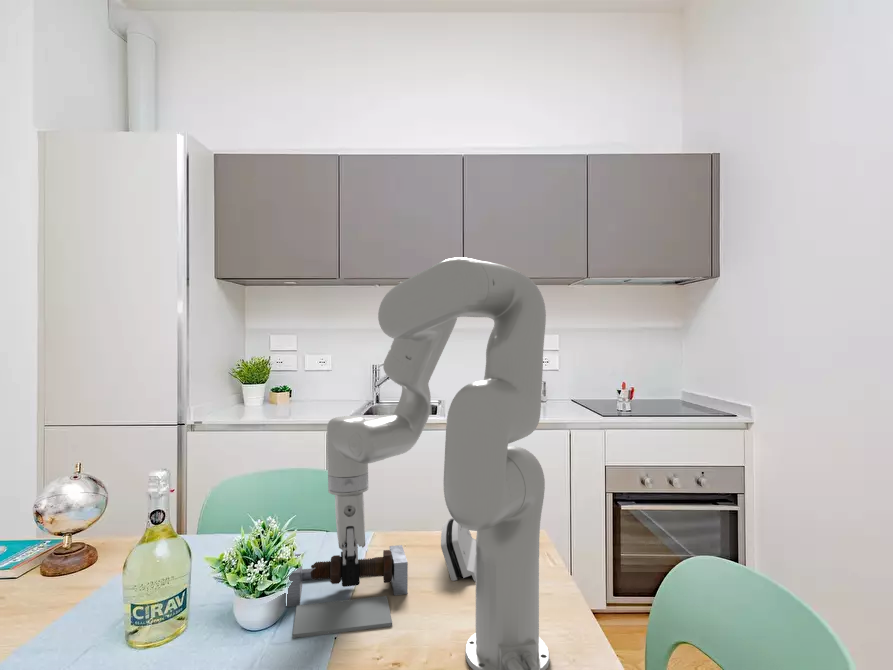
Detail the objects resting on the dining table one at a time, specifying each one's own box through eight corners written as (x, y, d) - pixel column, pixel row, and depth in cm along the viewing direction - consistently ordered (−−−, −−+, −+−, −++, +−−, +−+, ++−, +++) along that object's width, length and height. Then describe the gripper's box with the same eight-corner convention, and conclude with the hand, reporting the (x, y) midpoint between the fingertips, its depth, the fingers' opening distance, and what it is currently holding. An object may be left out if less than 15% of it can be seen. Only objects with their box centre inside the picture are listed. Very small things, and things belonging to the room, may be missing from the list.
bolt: (311, 590, 98) (391, 584, 100) (309, 586, 94) (392, 580, 96) (313, 557, 101) (390, 552, 103) (311, 551, 97) (391, 547, 99)
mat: (392, 626, 87) (392, 622, 87) (292, 638, 83) (292, 634, 83) (386, 598, 95) (386, 595, 95) (296, 608, 92) (296, 605, 92)
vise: (407, 593, 97) (407, 562, 97) (285, 607, 92) (285, 573, 92) (399, 567, 108) (399, 538, 108) (290, 577, 103) (290, 548, 103)
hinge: (476, 582, 102) (459, 533, 102) (454, 589, 102) (437, 540, 103) (480, 547, 118) (466, 505, 119) (461, 553, 119) (446, 511, 119)
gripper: (371, 493, 91) (373, 597, 91) (365, 470, 108) (367, 558, 107) (327, 496, 89) (329, 603, 89) (328, 472, 106) (330, 562, 106)
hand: (350, 577), depth 98 cm, fingers closed on bolt, 5 cm apart
